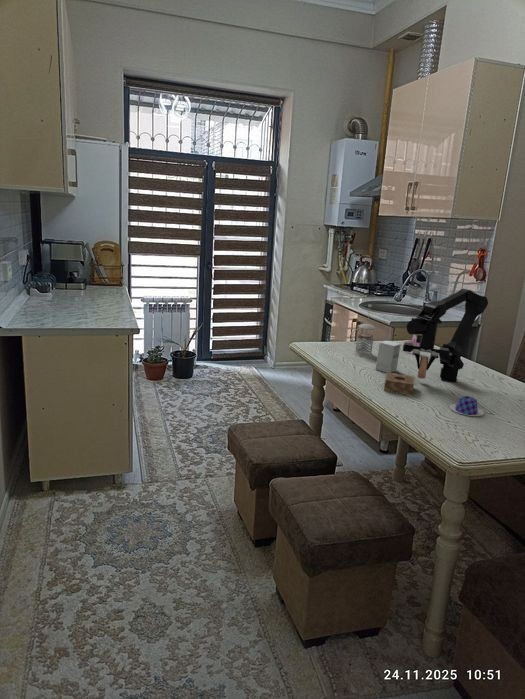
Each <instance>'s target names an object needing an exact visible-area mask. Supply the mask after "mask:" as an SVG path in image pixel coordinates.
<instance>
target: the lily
mask: <svg viewBox="0 0 525 699" xmlns="http://www.w3.org/2000/svg"><path fill="white" fill-rule="evenodd" d="M416 339H417V335H416V334H413V335H412V338H411V339H405V340H403V341H402V343H403V344H404V343H405V342H407V343H413V346H419V344H420V343H416ZM412 352H413V351H411V352H410V353H412ZM404 353H405V354H407V353H408V352H405V351H404ZM412 355H413V354H412ZM413 357H415V355H413Z"/></svg>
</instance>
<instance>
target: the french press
mask: <svg viewBox="0 0 525 699" xmlns="http://www.w3.org/2000/svg"><path fill="white" fill-rule="evenodd" d="M367 307H368V312H370V309H371V308H373V305H372V304H368V305H367ZM369 318H370V314H368V316H367V319H369ZM359 328H360V329H363V330H365V333H363V332H361V333H359V331H360V329H359ZM375 329H376V327H375V326H374V325H372V324H369V321H367V323H362V324H359V325H358V328H355V329H354V330H353V331H352V333H351V340H352V342H353V343H354V344H355V350H354V351H353V354H354V355H355V356H357V357H362V358H363V357H364V358H372V357H374V354H373V344H374V338H373V337H374V335H373V334H369V333H367V332H368V331H374V330H375ZM356 331H358V336H357V339H356V340H357V341H355V340H354V339H353V336H354V332H356Z"/></svg>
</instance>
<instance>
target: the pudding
mask: <svg viewBox="0 0 525 699" xmlns="http://www.w3.org/2000/svg"><path fill="white" fill-rule="evenodd" d="M449 408H450V410H452V411H453V412H455V413H458V414H461V415H465V416H469V417H479V416H480V417H481V416H483V415H484V411H483V410H482V409H481V408H478V400H477V399H476V398H475V397H471V396H468V395H462V396H460V397H459V398H458V401H457V403H452V404H450V405H449Z"/></svg>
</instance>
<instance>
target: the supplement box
mask: <svg viewBox="0 0 525 699" xmlns="http://www.w3.org/2000/svg"><path fill="white" fill-rule="evenodd" d="M401 345H402V344H401V343H400V342H399V343H398V342H394V341H390V340H384V341H381V342H379V344H378V351H377V358H376V364H375V370H377V371H380V372H384V373H386V374H387V373H393V372H395V371H397V369H398V363H399V357H400V350H401Z"/></svg>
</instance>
